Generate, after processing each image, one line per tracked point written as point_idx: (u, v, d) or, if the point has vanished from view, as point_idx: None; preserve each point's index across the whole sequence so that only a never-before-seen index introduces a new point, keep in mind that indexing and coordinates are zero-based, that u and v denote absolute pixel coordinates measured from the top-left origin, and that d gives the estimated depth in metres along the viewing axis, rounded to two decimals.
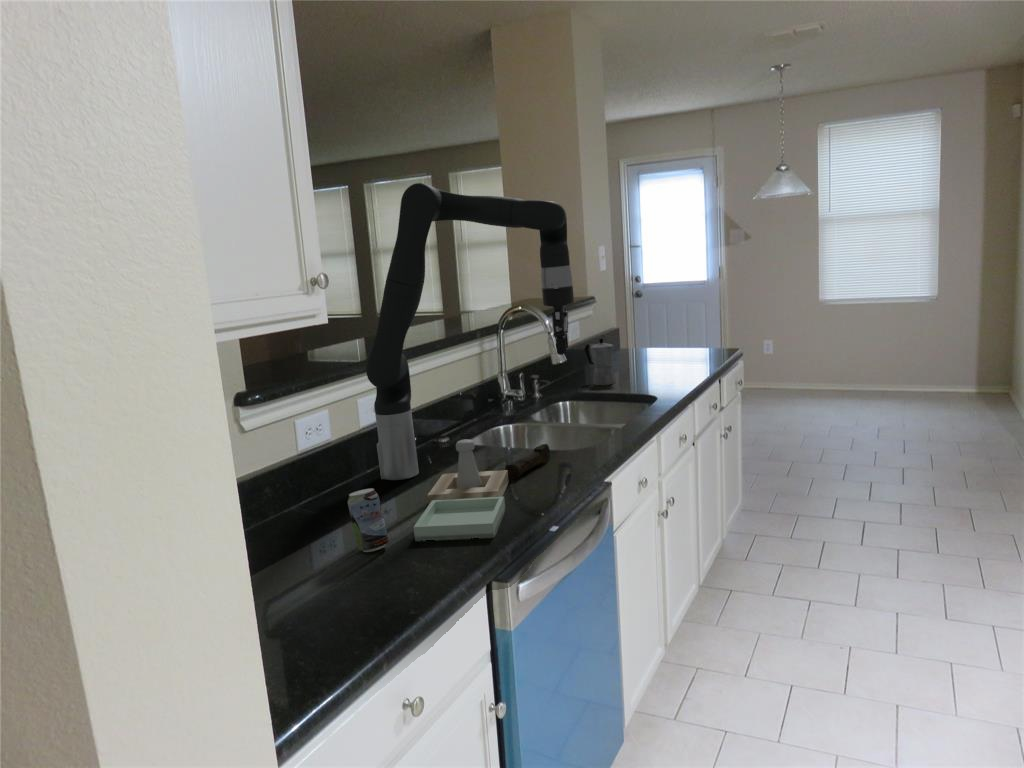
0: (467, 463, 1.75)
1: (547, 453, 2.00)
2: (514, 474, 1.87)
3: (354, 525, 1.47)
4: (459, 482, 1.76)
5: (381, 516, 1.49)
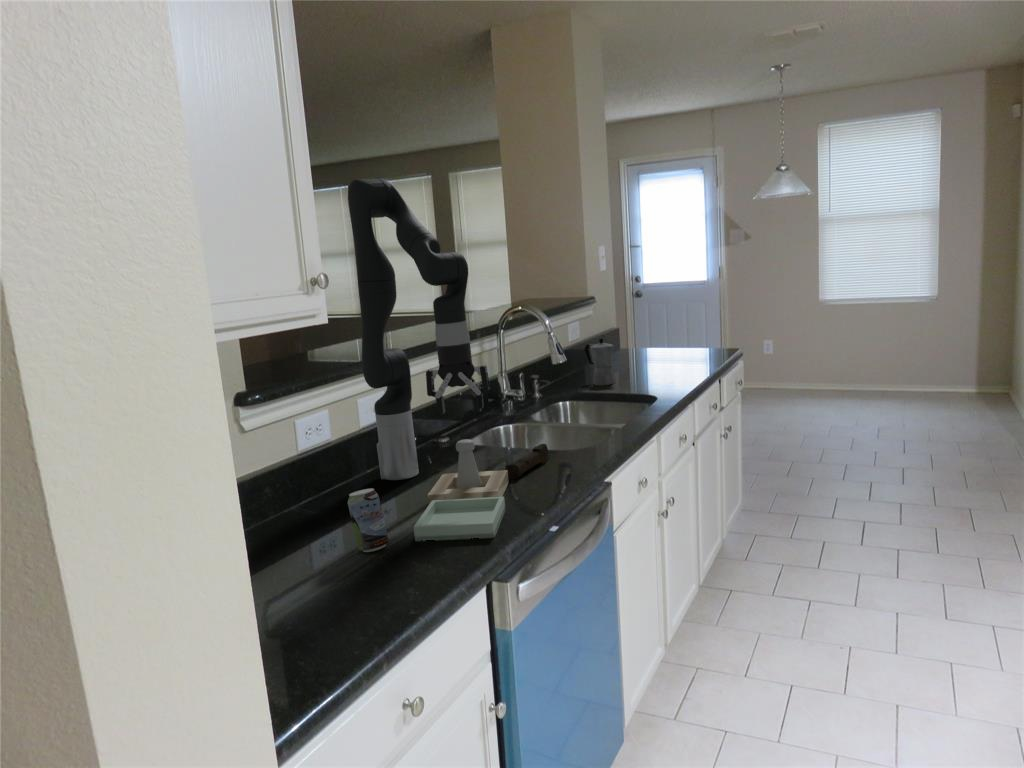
0: (467, 463, 1.75)
1: (546, 453, 2.00)
2: (514, 474, 1.87)
3: (354, 525, 1.47)
4: (459, 482, 1.76)
5: (381, 516, 1.49)
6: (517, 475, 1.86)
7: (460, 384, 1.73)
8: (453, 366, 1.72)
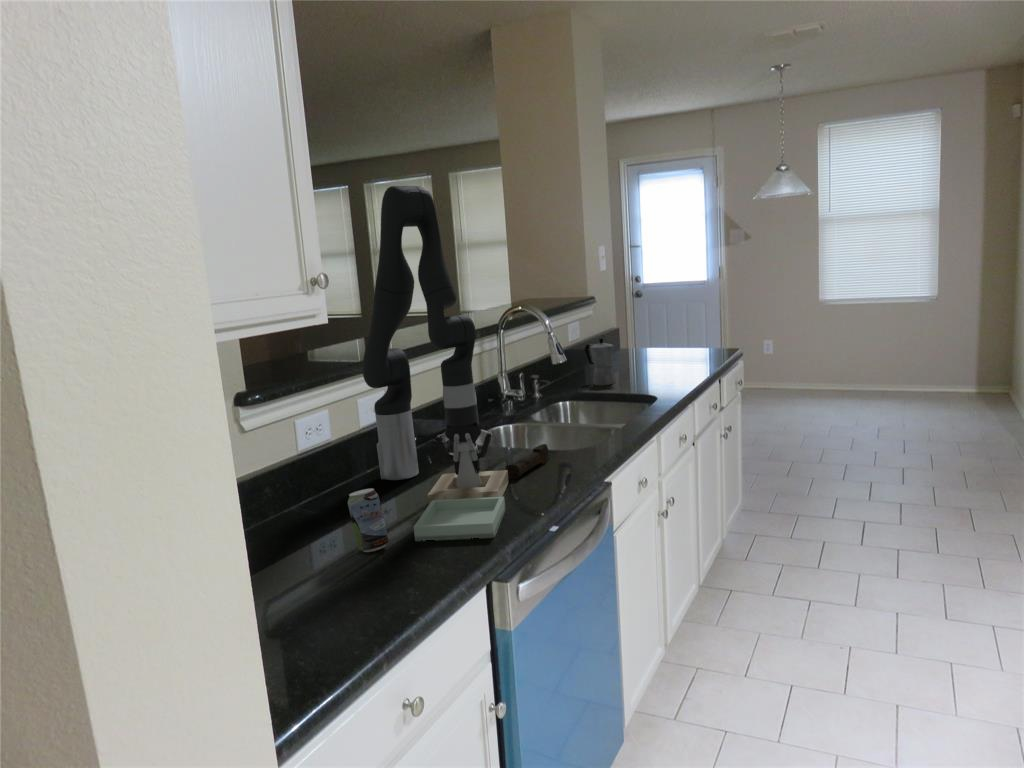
0: (467, 463, 1.75)
1: (546, 453, 2.00)
2: (515, 474, 1.86)
3: (354, 525, 1.47)
4: (459, 482, 1.76)
5: (381, 516, 1.49)
6: (517, 475, 1.86)
7: None
8: (460, 427, 1.75)
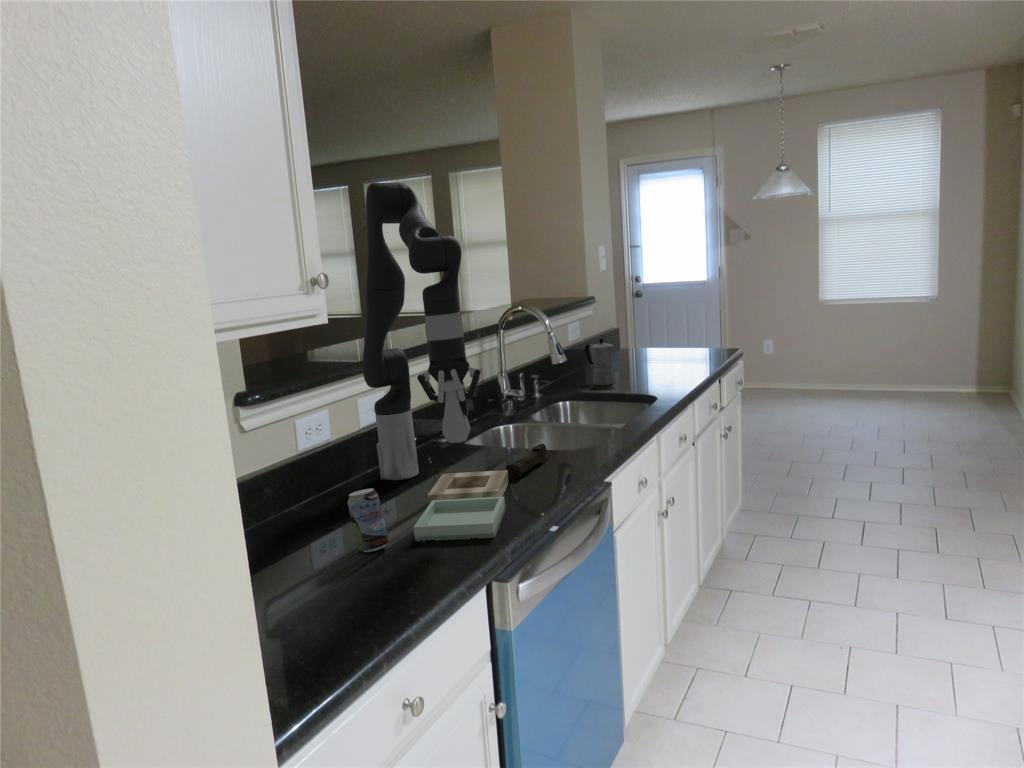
0: (453, 404, 1.56)
1: (545, 453, 2.00)
2: (515, 474, 1.86)
3: (354, 525, 1.47)
4: (444, 426, 1.57)
5: (381, 516, 1.49)
6: (518, 475, 1.86)
7: None
8: (445, 363, 1.55)
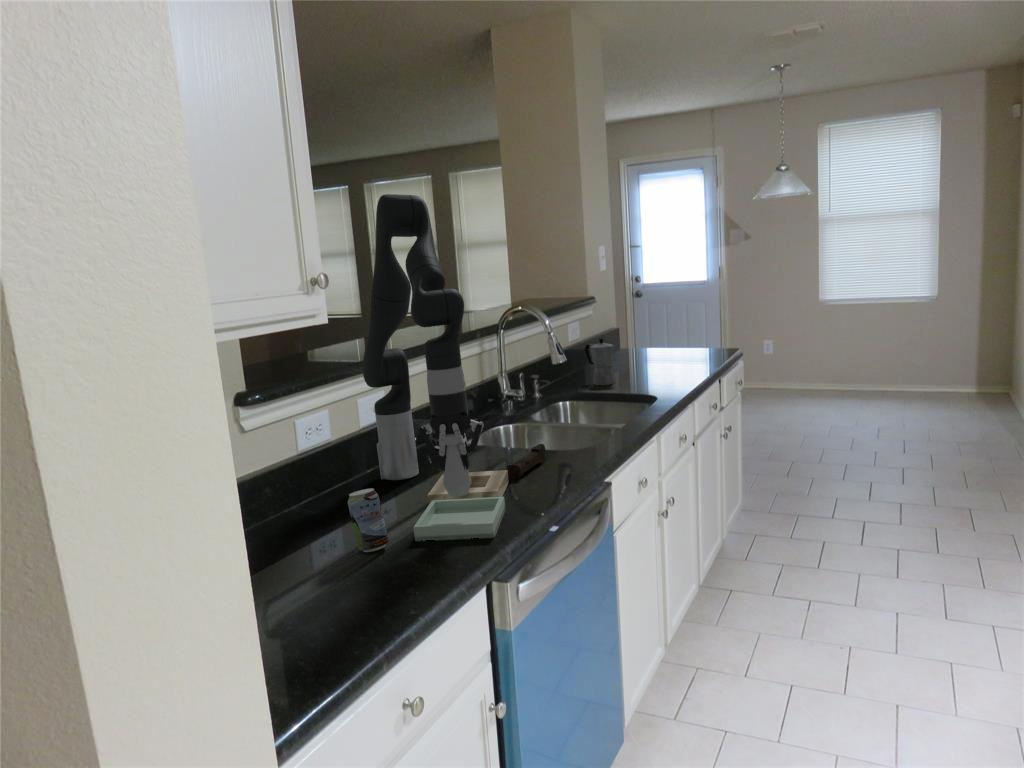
0: (454, 458, 1.54)
1: (544, 453, 2.00)
2: (516, 474, 1.86)
3: (354, 525, 1.47)
4: (445, 479, 1.55)
5: (381, 516, 1.49)
6: (518, 475, 1.86)
7: (455, 436, 1.54)
8: (447, 416, 1.54)
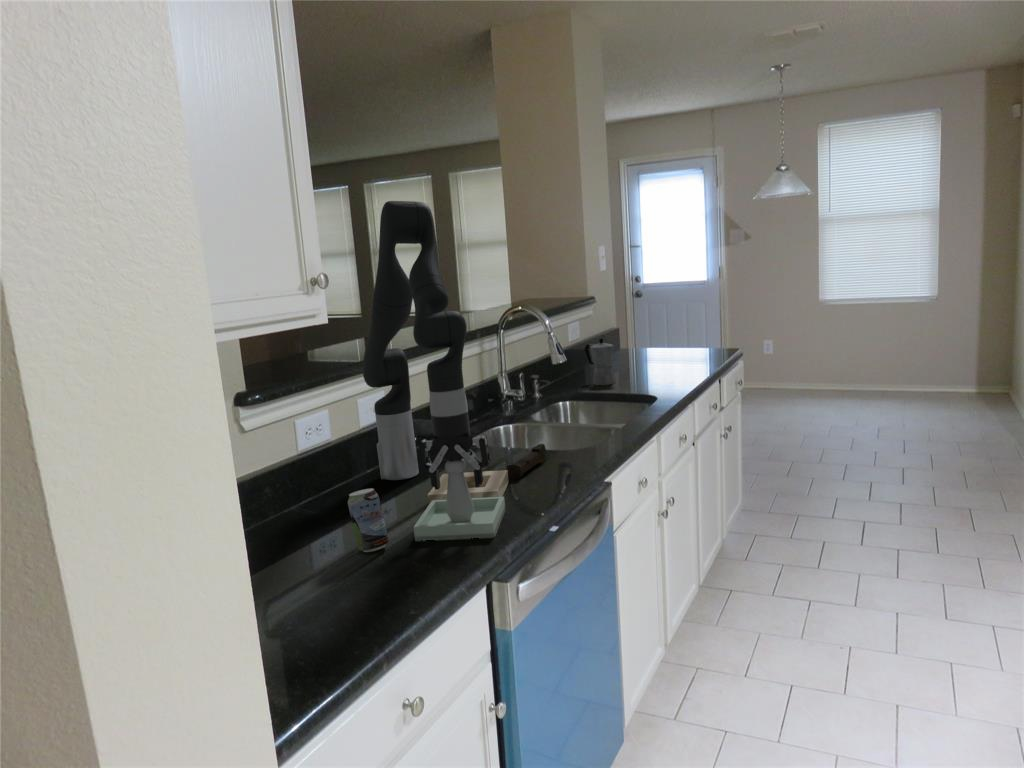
0: (457, 486, 1.55)
1: (544, 453, 2.00)
2: (516, 474, 1.86)
3: (354, 525, 1.47)
4: (448, 506, 1.56)
5: (381, 516, 1.49)
6: (519, 475, 1.86)
7: (457, 457, 1.55)
8: (449, 438, 1.54)
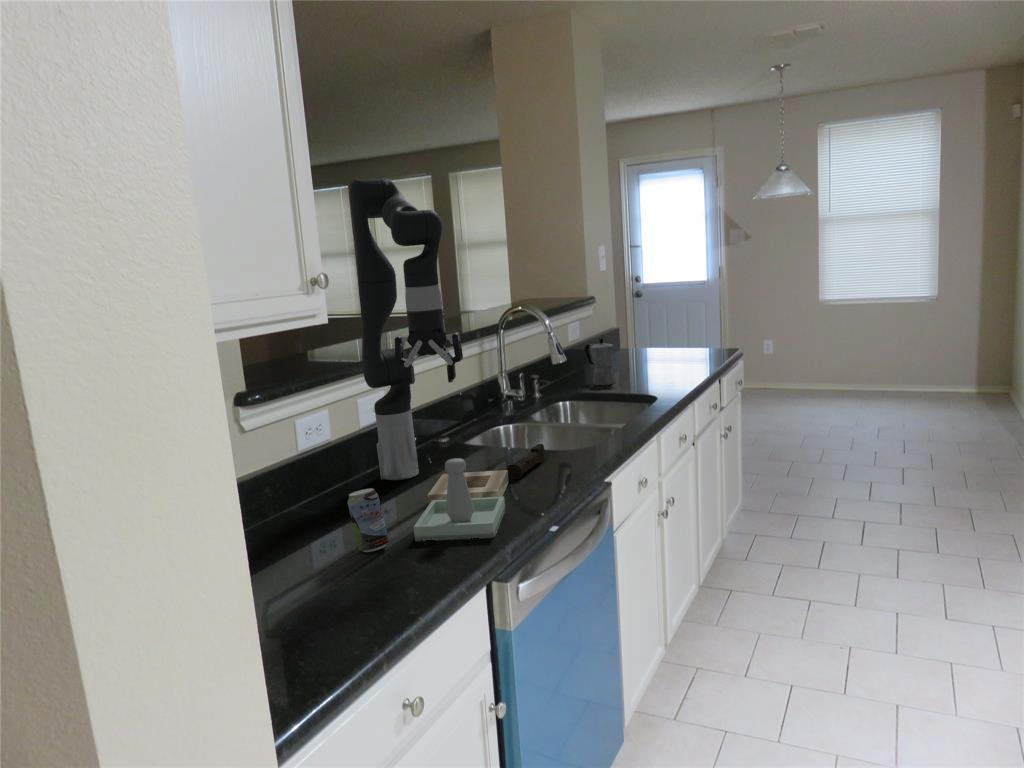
0: (457, 486, 1.55)
1: (543, 453, 2.00)
2: (516, 474, 1.86)
3: (354, 525, 1.47)
4: (448, 506, 1.56)
5: (381, 516, 1.49)
6: (519, 475, 1.86)
7: (431, 353, 1.62)
8: (423, 333, 1.61)
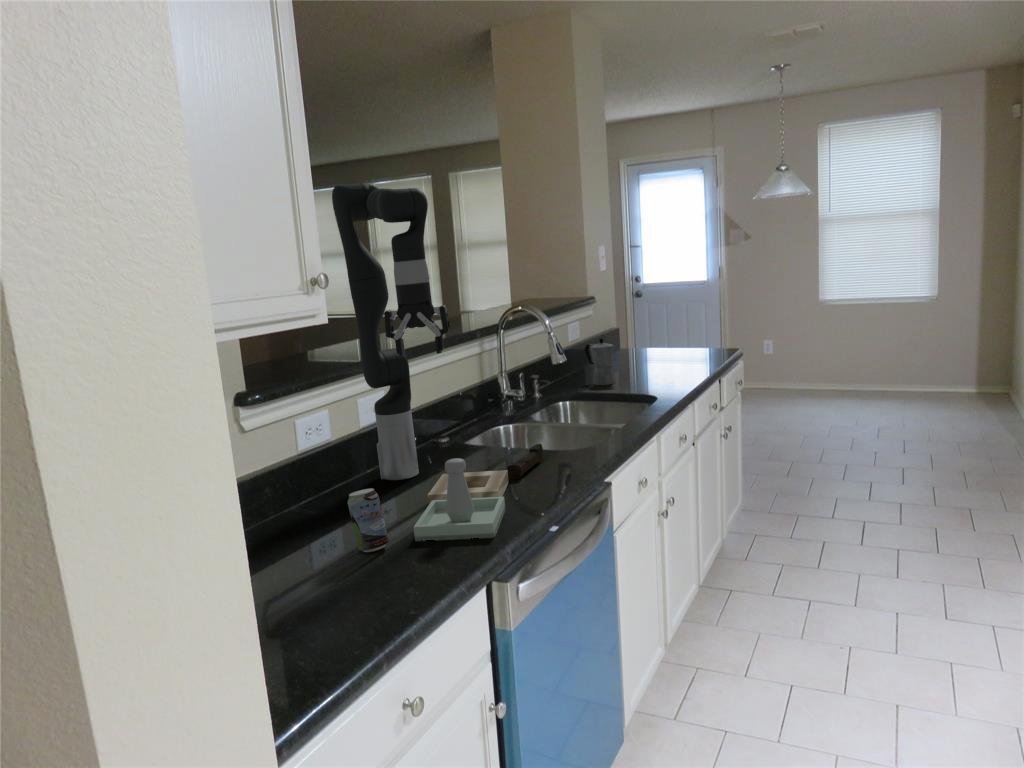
0: (457, 486, 1.55)
1: (542, 453, 2.00)
2: (517, 474, 1.86)
3: (354, 525, 1.47)
4: (448, 506, 1.56)
5: (381, 516, 1.49)
6: (519, 475, 1.86)
7: (419, 325, 1.68)
8: (412, 306, 1.68)
